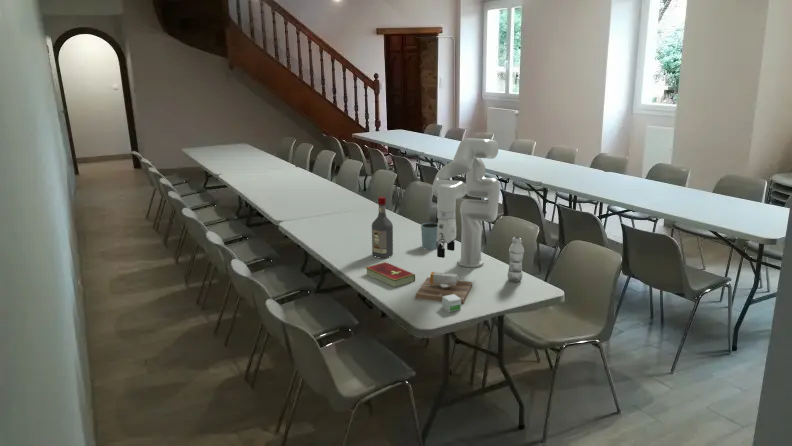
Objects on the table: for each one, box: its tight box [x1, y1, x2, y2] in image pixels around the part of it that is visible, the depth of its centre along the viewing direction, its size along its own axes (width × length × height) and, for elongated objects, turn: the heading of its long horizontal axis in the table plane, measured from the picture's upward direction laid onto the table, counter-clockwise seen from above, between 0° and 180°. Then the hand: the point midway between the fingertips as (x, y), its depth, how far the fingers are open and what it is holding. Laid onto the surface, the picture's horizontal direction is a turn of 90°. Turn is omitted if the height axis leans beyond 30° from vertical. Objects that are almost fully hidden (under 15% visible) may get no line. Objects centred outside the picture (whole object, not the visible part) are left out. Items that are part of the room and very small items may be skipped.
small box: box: [441, 294, 462, 313], centre depth 233 cm, size 6×6×5 cm
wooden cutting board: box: [415, 276, 473, 305], centre depth 249 cm, size 20×20×2 cm
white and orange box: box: [430, 271, 458, 289], centre depth 248 cm, size 11×4×6 cm, turn 75°
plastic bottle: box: [507, 236, 525, 283], centre depth 259 cm, size 6×7×20 cm
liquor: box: [371, 196, 394, 259], centre depth 292 cm, size 9×9×30 cm
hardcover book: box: [364, 261, 416, 288], centre depth 266 cm, size 12×21×4 cm, turn 40°
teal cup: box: [420, 222, 438, 250], centre depth 308 cm, size 10×10×12 cm
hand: (445, 253), depth 245 cm, fingers open, 9 cm apart
